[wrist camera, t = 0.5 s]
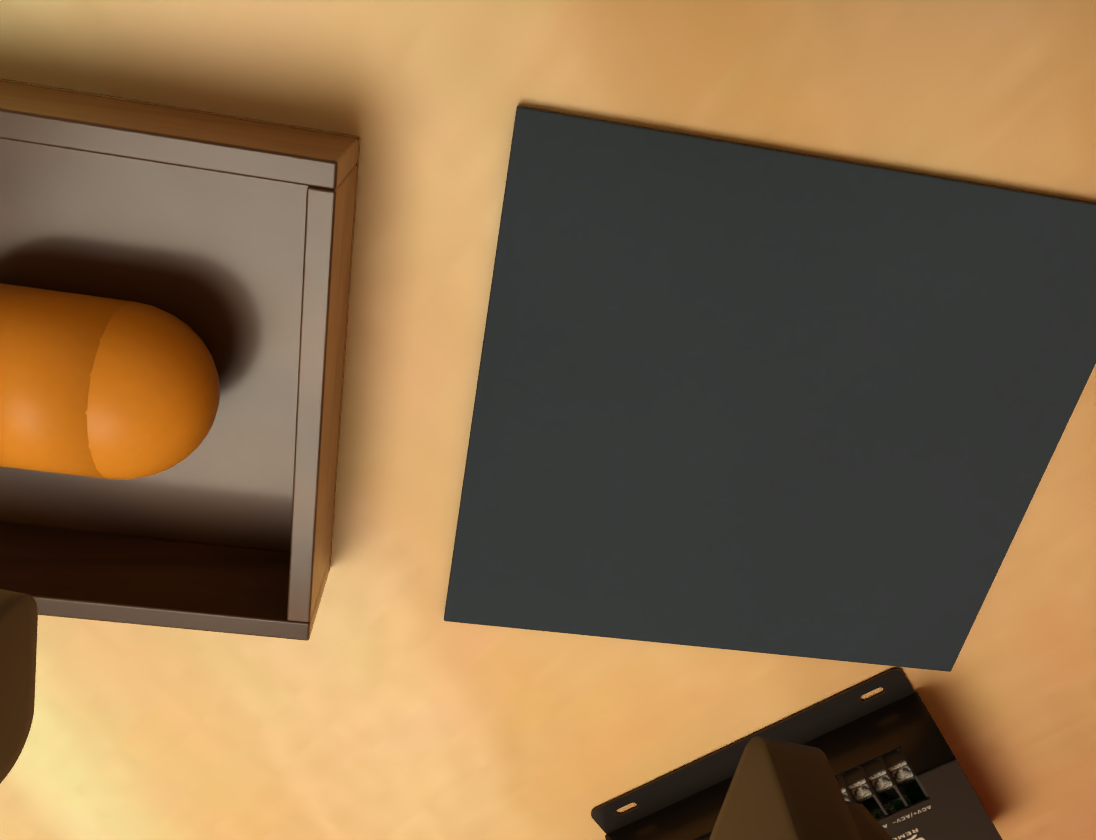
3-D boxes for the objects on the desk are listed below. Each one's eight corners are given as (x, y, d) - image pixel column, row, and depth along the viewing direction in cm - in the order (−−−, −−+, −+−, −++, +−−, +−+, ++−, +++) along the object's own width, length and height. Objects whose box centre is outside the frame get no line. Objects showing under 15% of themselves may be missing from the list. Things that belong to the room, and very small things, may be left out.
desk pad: (517, 105, 27) (517, 107, 27) (1157, 213, 30) (1165, 216, 30) (444, 614, 36) (443, 621, 36) (946, 665, 39) (950, 672, 38)
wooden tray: (-214, 43, 26) (-340, 54, 22) (360, 136, 28) (337, 161, 24) (-122, 521, 33) (-205, 592, 29) (330, 568, 35) (308, 641, 31)
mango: (-67, 247, 28) (-190, 304, 23) (241, 290, 29) (187, 353, 24) (-45, 404, 31) (-152, 486, 26) (238, 438, 32) (189, 524, 27)
